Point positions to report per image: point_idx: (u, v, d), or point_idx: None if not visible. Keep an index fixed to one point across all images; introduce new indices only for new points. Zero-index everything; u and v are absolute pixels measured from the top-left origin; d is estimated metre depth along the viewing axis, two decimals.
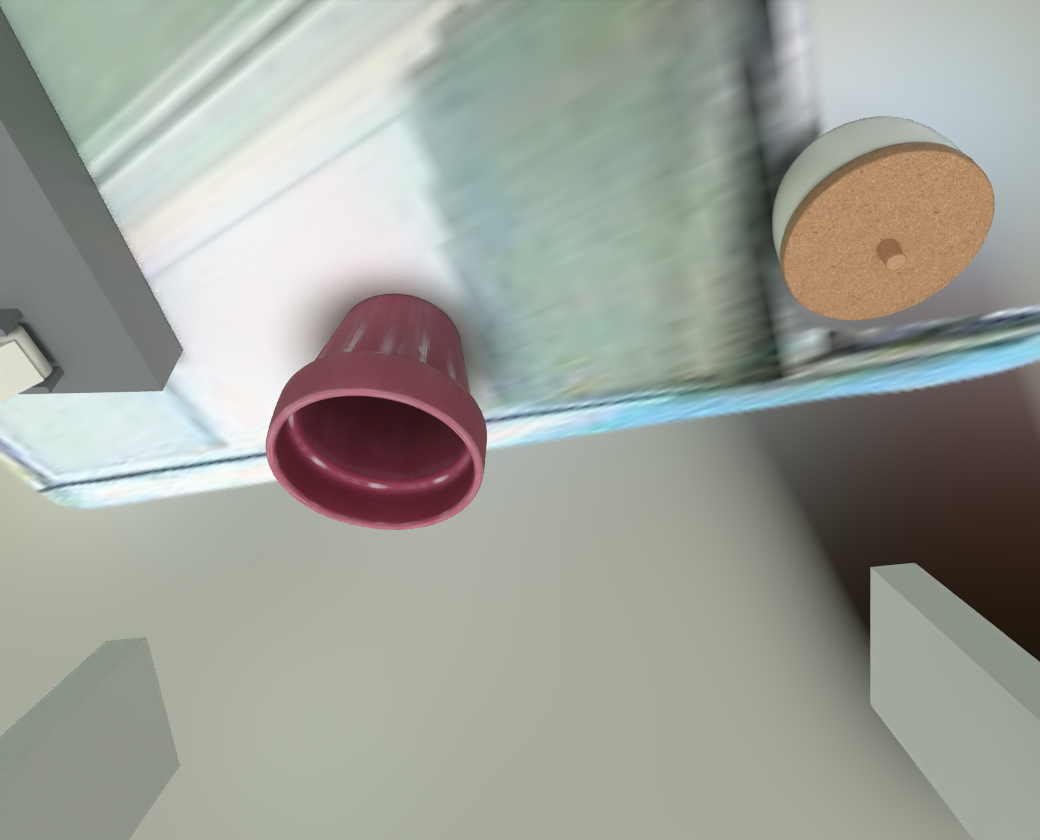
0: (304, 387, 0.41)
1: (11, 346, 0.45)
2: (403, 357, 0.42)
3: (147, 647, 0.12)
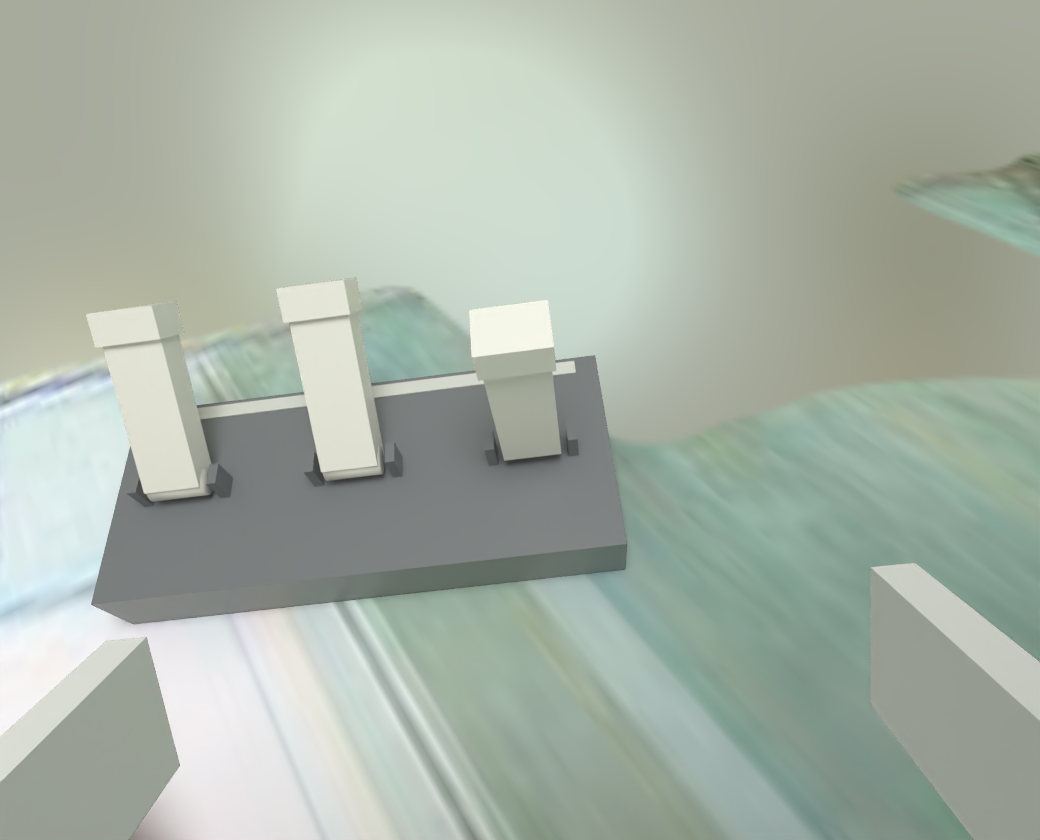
0: None
1: (193, 482, 0.44)
2: None
3: (147, 647, 0.12)
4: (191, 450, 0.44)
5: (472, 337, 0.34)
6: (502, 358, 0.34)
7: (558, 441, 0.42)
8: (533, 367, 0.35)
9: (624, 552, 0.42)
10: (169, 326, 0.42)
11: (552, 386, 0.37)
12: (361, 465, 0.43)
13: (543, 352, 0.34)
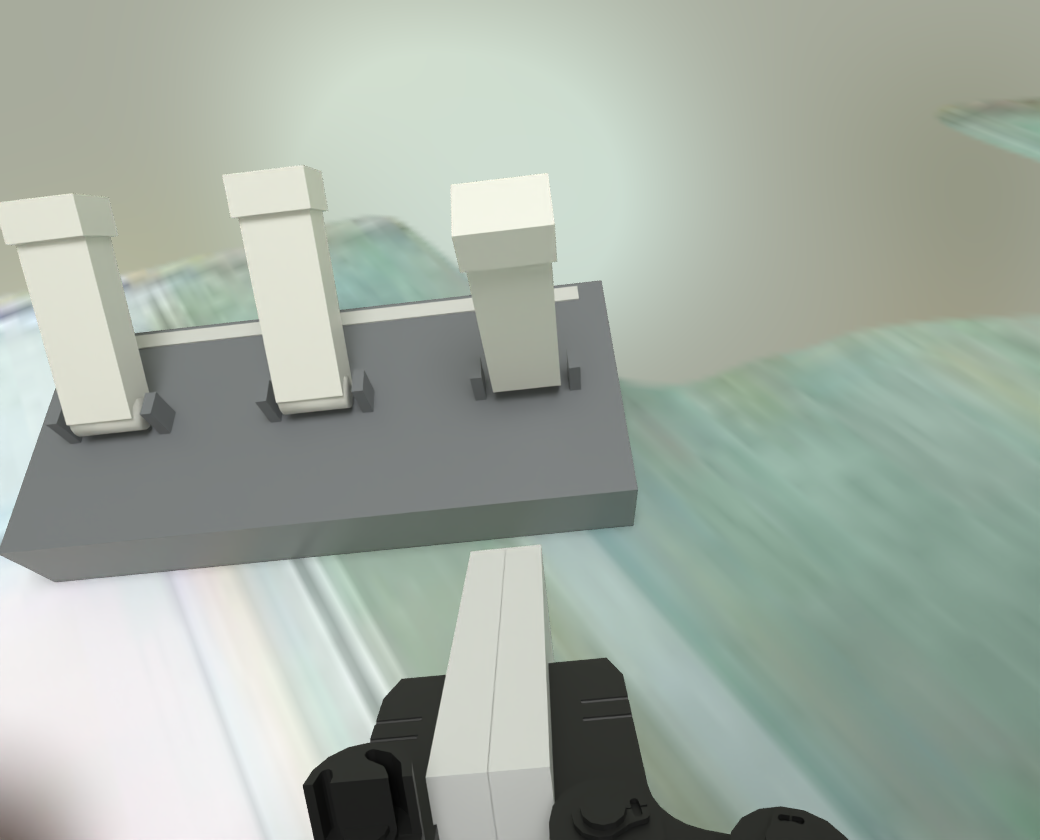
0: None
1: (125, 413, 0.37)
2: None
3: None
4: (122, 374, 0.37)
5: (453, 214, 0.27)
6: (489, 240, 0.27)
7: (557, 367, 0.35)
8: (528, 255, 0.28)
9: (633, 501, 0.36)
10: (97, 223, 0.36)
11: (551, 287, 0.30)
12: (323, 395, 0.37)
13: (540, 232, 0.27)
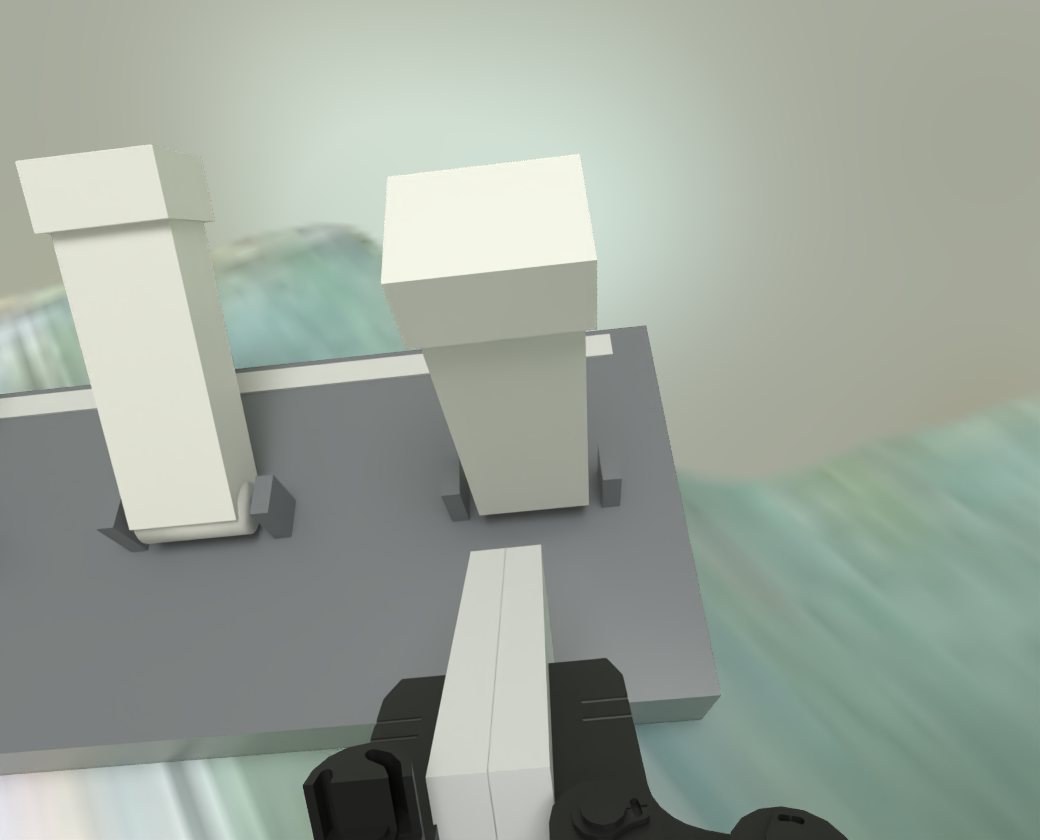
0: None
1: None
2: None
3: None
4: None
5: (388, 237, 0.13)
6: (461, 290, 0.13)
7: (585, 483, 0.21)
8: (541, 318, 0.14)
9: (710, 703, 0.22)
10: None
11: (582, 369, 0.16)
12: (205, 519, 0.23)
13: (567, 275, 0.13)
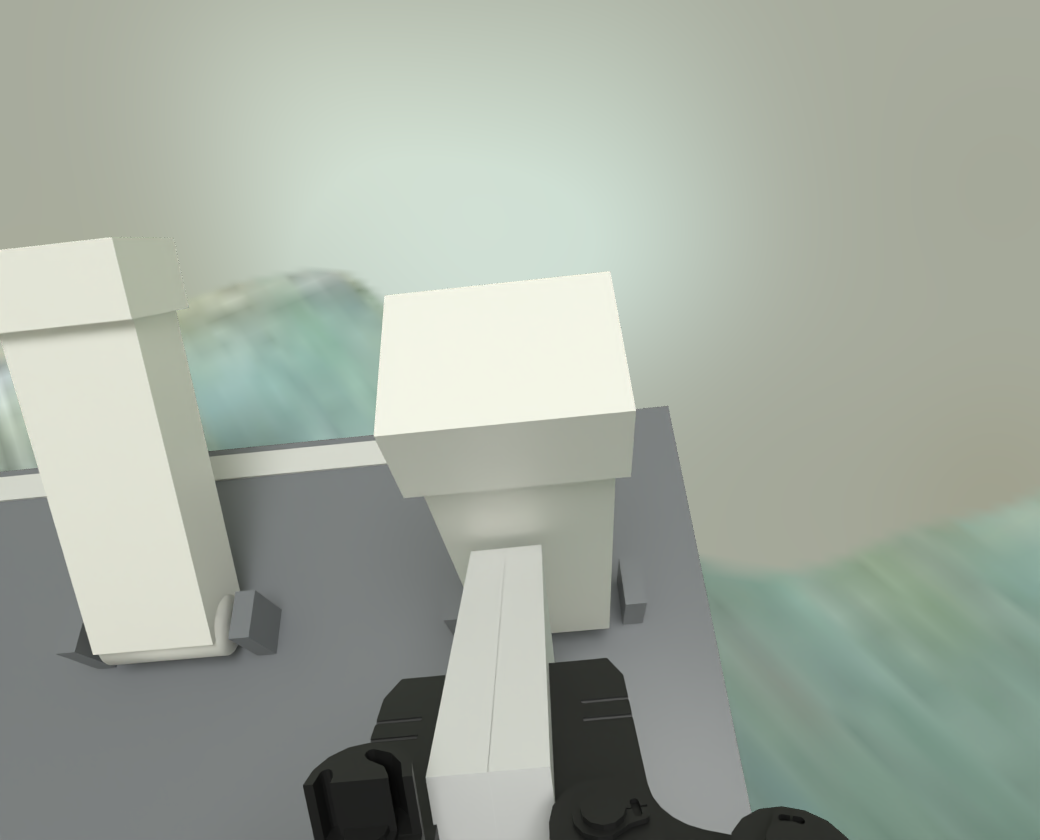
0: None
1: None
2: None
3: None
4: None
5: (384, 373, 0.11)
6: (471, 441, 0.11)
7: (606, 609, 0.19)
8: (565, 466, 0.12)
9: None
10: None
11: (610, 508, 0.14)
12: (178, 643, 0.20)
13: (599, 425, 0.11)
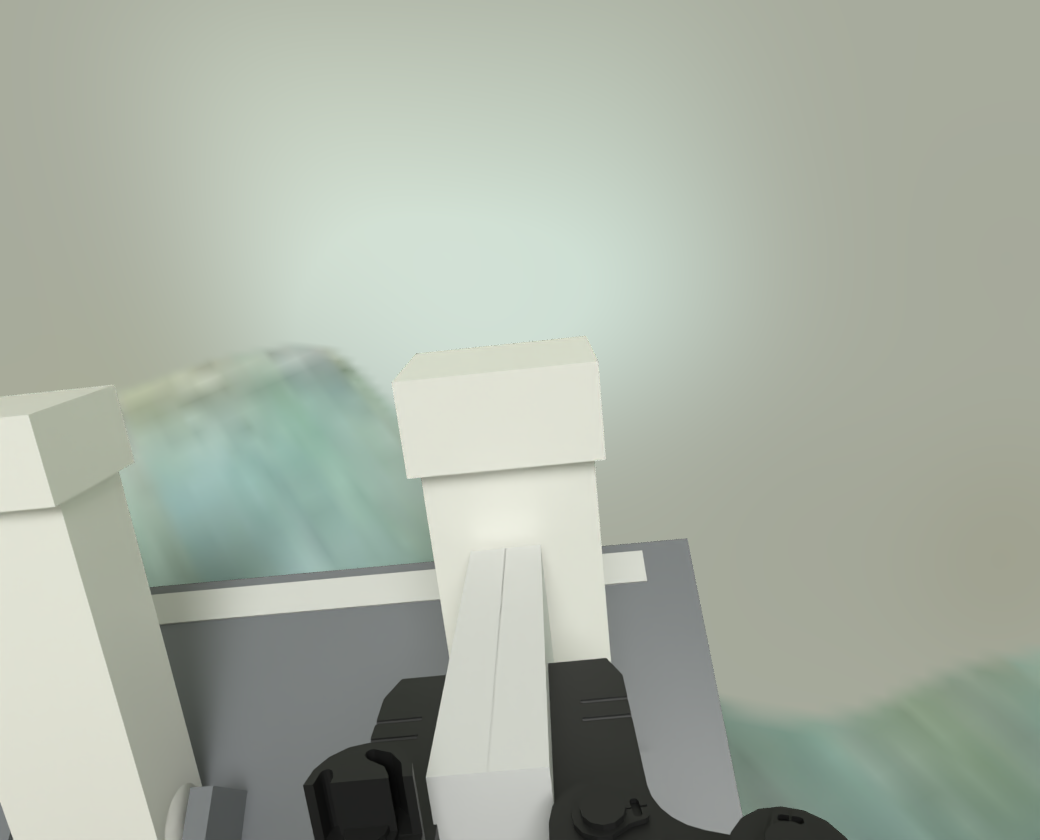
0: None
1: None
2: None
3: None
4: None
5: (406, 369, 0.15)
6: (467, 394, 0.13)
7: None
8: (547, 439, 0.14)
9: None
10: None
11: (597, 539, 0.15)
12: None
13: (570, 380, 0.13)
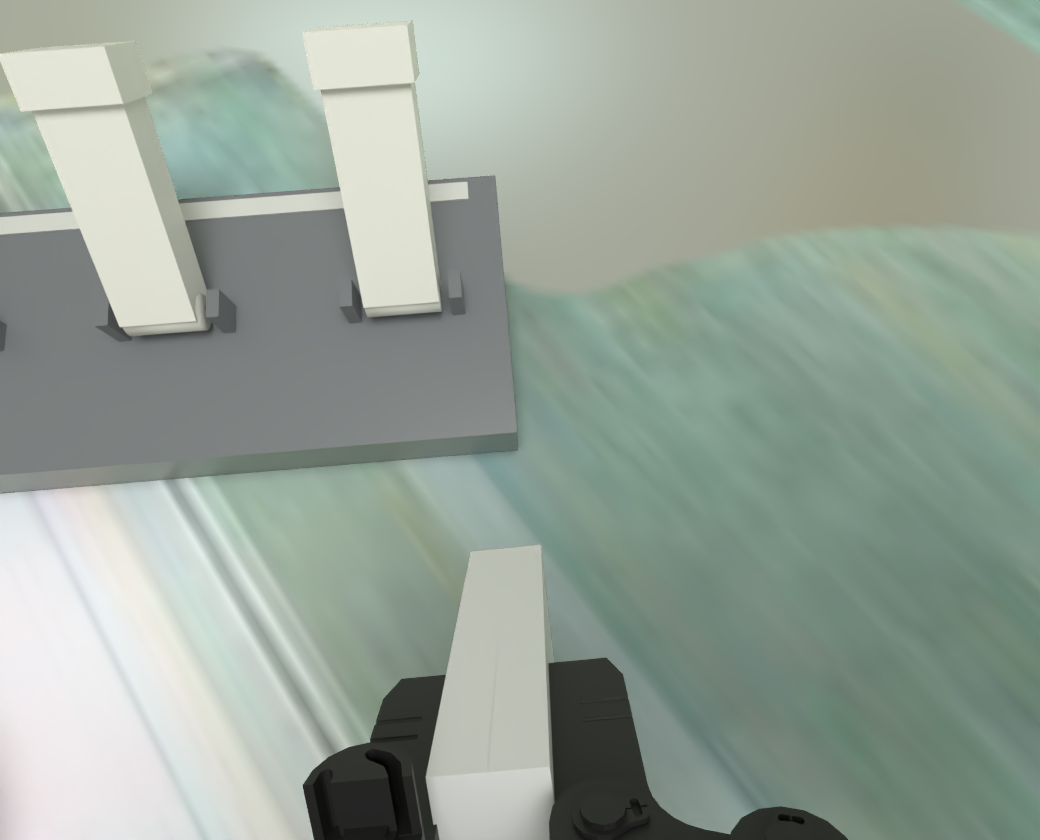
0: None
1: None
2: None
3: None
4: None
5: (310, 30, 0.27)
6: (342, 41, 0.27)
7: (432, 269, 0.32)
8: (384, 69, 0.27)
9: (515, 438, 0.35)
10: None
11: (415, 133, 0.29)
12: (174, 320, 0.33)
13: (393, 35, 0.27)
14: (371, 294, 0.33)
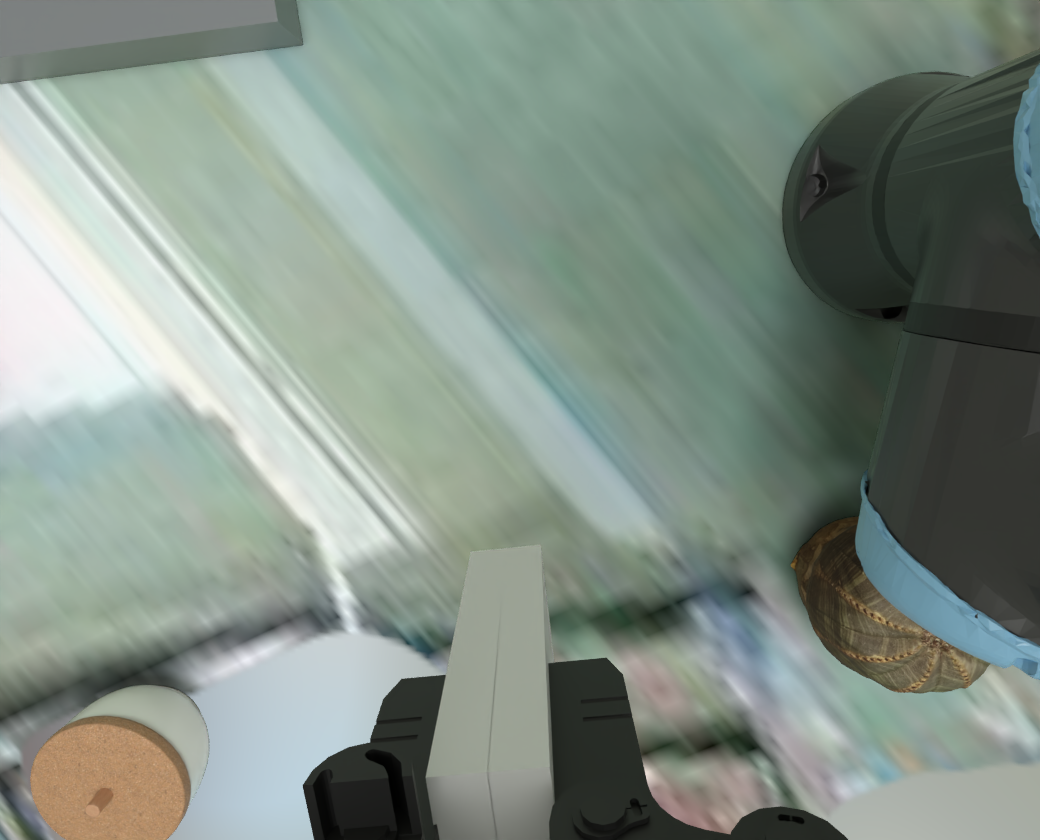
0: None
1: None
2: None
3: None
4: None
5: None
6: None
7: None
8: None
9: (284, 29, 0.41)
10: None
11: None
12: None
13: None
14: None
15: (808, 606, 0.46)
